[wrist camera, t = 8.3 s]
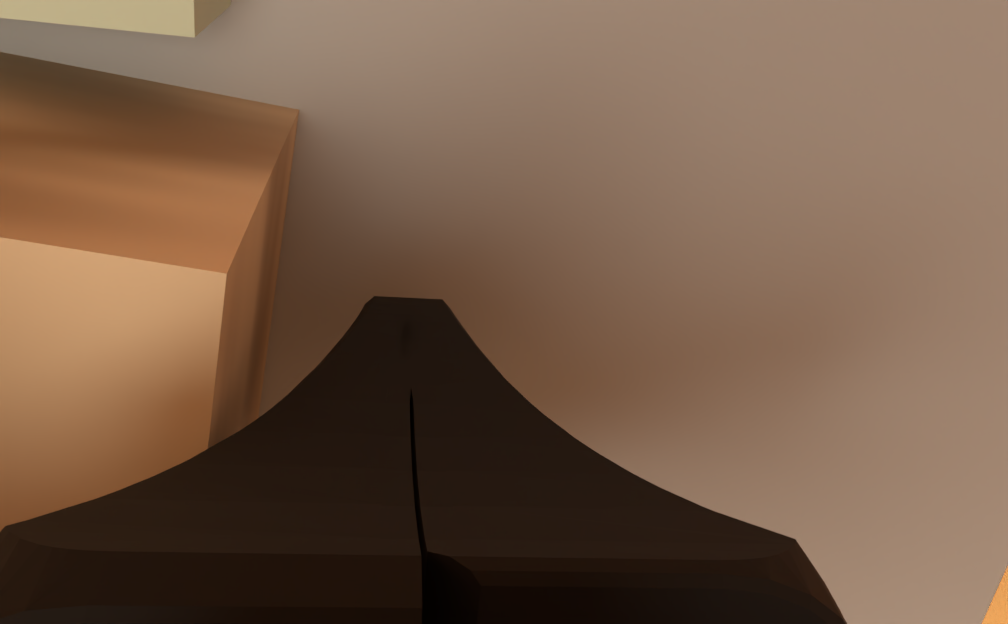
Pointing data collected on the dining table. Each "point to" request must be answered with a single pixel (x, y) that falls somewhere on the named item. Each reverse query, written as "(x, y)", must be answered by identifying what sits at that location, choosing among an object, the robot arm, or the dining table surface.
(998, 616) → the dining table surface
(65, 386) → the block
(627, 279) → the trap board
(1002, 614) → the dining table surface
